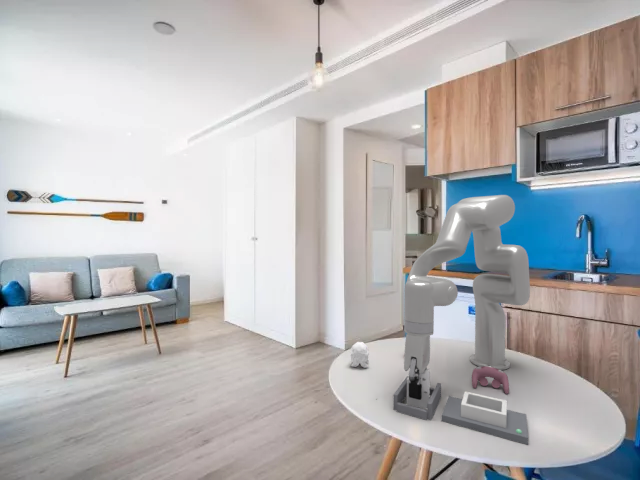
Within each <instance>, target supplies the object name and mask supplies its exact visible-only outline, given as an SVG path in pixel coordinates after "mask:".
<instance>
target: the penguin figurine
mask: <svg viewBox="0 0 640 480" xmlns="http://www.w3.org/2000/svg"><path fill="white" fill-rule="evenodd" d="M349 353H350V361H351V362H352V363H351V364H350V366H351V367H352V368H356V367H358V366H359V364H360V366H361V367H362V368H364V369H368V368H369V364H368V363H370V358H369V357H370V356H369V355H370V350H369V347H368V345H367V344H366V343H364V342H363V341H357V342H355V343H354V344H353V345H352V346H351V348H350V351H349Z"/></svg>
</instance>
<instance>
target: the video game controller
mask: <svg viewBox="0 0 640 480" xmlns="http://www.w3.org/2000/svg"><path fill="white" fill-rule="evenodd" d="M487 378H491V379H492V380H491V386H492V387H493V388H494V389H499V388H500V386H502V388H503V391H504V394H505V395H508V394H509V392H510V382H509V377H508V375H507V374H506V372H504V370H499V369H496V368H493V367H486V366H483V367H479V366H477V367H474V368H473V370H472V373H471V385H472V388H473V389H476V388H477V387H478V382H479V384H480V385H481V386H482V387H487V385H488V384H489V381H488V379H487Z"/></svg>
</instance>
